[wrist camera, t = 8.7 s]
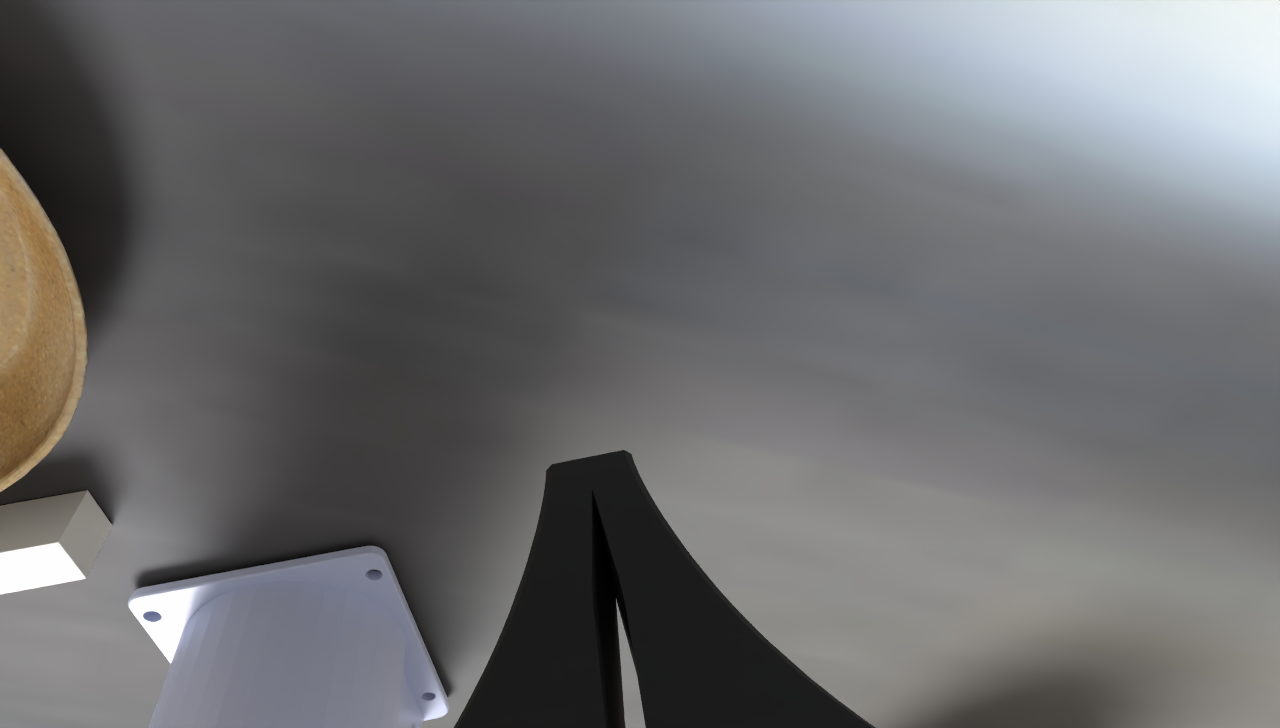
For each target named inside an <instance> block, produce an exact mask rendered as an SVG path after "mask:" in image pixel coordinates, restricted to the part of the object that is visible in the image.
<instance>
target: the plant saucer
mask: <svg viewBox="0 0 1280 728" xmlns="http://www.w3.org/2000/svg"><path fill="white" fill-rule="evenodd" d="M87 348H88V340H87V327H86V320H85V313H84V308H83V303H82V299H81V295H80V291H79V288H78V284H77V281H76V278H75V275H74V272H73V269H72V266H71V264H70V261H69V259H68V256H67V254H66V251H65V249H64V247H63V244H62V242H61V240H60V238H59V236H58V234H57V232H56V230H55V228H54V227H53V225H52V223H51V221H50V219H49V218H48V216H47V214H46V213H45V211H44V209H43V208H42V206H41V204H40V202H39V201H38V199H37V197H36V196H35V194H34V193H33V192H32V190H31V189H30V187H29V186H28V184H27V183H26V181H25V180H24V178H23V176H22V175H21V174H20V172H19V171H18V170H17V169H16V168H15V166H14V165H13V164H12V162H11V161H10V159H9V158H8V156H7V155H6V154H5V153H4V152H3V151H2V149H1V148H0V492H1V491H3V490H5V489H6V488H7V487H9V486H10V485H12V484H13V483H15V482H16V481H18V480H19V479H21V478H22V477H23V476H25V475H26V474H27V473H28V472H29V471H30V470H31V469H32V468H33V467H35V466H36V465H37V464H38V463H39V462H40V461H41V460H42V459H43V458H44V457H46V456H47V455H48V453H49V452H50V451H51V450H52V449H53V447H54V446H55V445H56V443H57V442H58V441H59V440H60V439H61V437H62V436H63V435H64V433H65V431H66V429H67V428H68V425H69V423H70V422H71V419H72V416H73V414H74V412H75V410H76V407H77V404H78V401H79V399H80V397H81V395H82V390H83V387H84V384H85V377H86V368H87V363H88V351H87Z"/></svg>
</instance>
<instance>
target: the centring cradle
mask: <svg viewBox="0 0 1280 728" xmlns="http://www.w3.org/2000/svg"><path fill="white" fill-rule="evenodd" d="M112 527H113V526H112V524H111V523H110V521H109V520H108V518H107V517H106V516H105V514H104V513H103V511H102V510H101V508H100V507H99V506H98V504H97V503H96V501H95V500H94V499H93V497H92V496H91V494H90V493H89V491H88V490H86V491H80V492H75V493H69V494H63V495H58V496H52V497H46V498H41V499H35V500H29V501H24V502H18V503H12V504H7V505H1V506H0V594H5V593H10V592H16V591H21V590H27V589H32V588H38V587H43V586H49V585H54V584H59V583H65V582H70V581H76V580H81V579H86V578H87V576H88V574H89V572H90V570H91V568H92V566H93V564H94V562H95V560H96V558H97V556H98V554H99V552H100V550H101V548H102V546H103V544H104V542H105V540H106V538H107V536H108V534H109V533H110V531H111V529H112Z"/></svg>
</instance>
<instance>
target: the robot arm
mask: <svg viewBox="0 0 1280 728" xmlns="http://www.w3.org/2000/svg"><path fill="white" fill-rule="evenodd" d="M372 569H376V570H378V571H372ZM616 599H617V603H618V607H619V610H620V614H621V618H622V621H623V625H624V629H625V632H626V636H627V640H628V643H629V647H630V651H631V654H632V658H633V662H634V665H635V669H636V673H637V676H638V682H639V688H640V694H641V701H642V707H643V713H644V719H645V725H646V728H875V727H874V726H872V725H871V724H870V723H868V722H867V721H865V720H864V719H862V718H861V717H860V716H858V715H857V714H856V713H854V712H853V711H852V710H850V709H849V708H848V707H846V706H845V705H844V704H842V703H841V702H840V701H838V700H837V699H836V698H834V697H833V696H832V695H831V694H829V693H828V692H827V691H826V690H824V689H823V688H822V687H821V686H819V685H818V684H817V683H816V682H814V681H813V680H812V679H811V678H809V677H808V676H807V675H806V674H805V673H804V672H803V671H802V670H800V669H799V668H798V667H797V666H796V665H795V664H794V663H793V662H791V661H790V660H789V659H788V658H787V657H786V656H785V655H784V654H782V653H781V652H780V651H779V650H778V649H777V648H776V647H775V646H773V645H772V644H771V643H770V642H769V641H768V640H767V639H766V638H765V637H764V636H763V635H762V634H761V633H760V632H759V631H758V630H757V629H756V628H755V627H754V626H753V625H752V624H751V623H750V622H749V621H748V620H747V619H746V618H745V617H744V616H743V615H742V614H741V613H740V612H739V611H738V610H737V609H736V608H735V607H734V606H733V605H732V604H731V603H730V601H729V600H728V599H727V598H726V597H725V596H724V595H723V594H722V593H721V591H720V590H719V589H718V588H717V587H716V586H715V585H714V583H713V582H712V581H711V580H710V579H709V577H708V576H707V575H706V574H705V573H704V571H703V570H702V569H701V568H700V566H699V565H698V564H697V563H696V561H695V560H694V559H693V558H692V556H691V555H690V554H689V552H688V551H687V550H686V548H685V547H684V546H683V544H682V543H681V541H680V540H679V539H678V537H677V536H676V534H675V533H674V531H673V530H672V528H671V527H670V526H669V524H668V523H667V521H666V520H665V518H664V517H663V515H662V514H661V512H660V511H659V509H658V507H657V506H656V504H655V502H654V501H653V499H652V497H651V496H650V494H649V492H648V490H647V489H646V487H645V485H644V483H643V481H642V479H641V477H640V475H639V473H638V471H637V468H636V466H635V463H634V461H633V458H632V454H630V453H628V452H627V451H625V450H622V451H617V452H612V453H606V454H601V455H596V456H591V457H586V458H581V459H576V460H571V461H566V462H561V463H556V464H552V465H551V466H550V467H549V468H548V469H547V471H546V483H545V490H544V496H543V502H542V507H541V512H540V516H539V520H538V525H537V529H536V533H535V536H534V540H533V543H532V547H531V550H530V554H529V557H528V561H527V564H526V567H525V571H524V574H523V577H522V579H521V582H520V585H519V588H518V590H517V593H516V596H515V599H514V602H513V604H512V607H511V610H510V613H509V615H508V618H507V620H506V623H505V625H504V628H503V630H502V632H501V635H500V637H499V639H498V642H497V644H496V646H495V648H494V651H493V653H492V655H491V657H490V659H489V661H488V664H487V666H486V668H485V670H484V672H483V674H482V676H481V678H480V680H479V682H478V684H477V686H476V687H475V689H474V691H473V693H472V695H471V697H470V699H469V701H468V703H467V705H466V707H465V709H464V710H463V712H462V714H461V716H460V718H459V720H458V721H457V723H456V725H455V727H454V728H625V720H624V705H623V691H622V677H621V663H620V649H619V635H618V622H617V608H616ZM128 606H129V609H130V610H131V611H132V613H133V614H134V615H135V617H136V618H137V619H138V621H139V622H140V623H141V625H142V626H143V627H144V629H145V630H146V631H147V633H148V634H149V635H150V637H151V638H152V639H153V641H154V642H155V643H156V645H157V646H158V647H159V649H160V650H161V651H162V653H163V654H164V655H165V657H166V658H167V659H168V661H169V662H170V663H171V665H170V668H169V671H168V674H167V677H166V679H165V682H164V685H163V688H162V691H161V693H160V696H159V699H158V702H157V705H156V707H155V710H154V713H153V716H152V719H151V721H150V724H149V727H148V728H422V727H423V721H425V720H430V719H435V718H439V717H442V716H444V715H445V714H447V712H448V711H449V700H448V698H447V696H446V693H445V691H444V688H443V686H442V684H441V681H440V679H439V677H438V674H437V672H436V670H435V667H434V665H433V663H432V660H431V658H430V656H429V653H428V651H427V649H426V646H425V644H424V641H423V639H422V637H421V634H420V632H419V630H418V627H417V625H416V623H415V620H414V618H413V616H412V613H411V611H410V609H409V606H408V604H407V601H406V599H405V597H404V594H403V592H402V590H401V587H400V585H399V583H398V580H397V578H396V576H395V573H394V571H393V569H392V566H391V564H390V561H389V559H388V557H387V554H386V553H385V551H384V550H383V549H381V548H379V547H376V546H364V547H358V548H353V549H347V550H342V551H337V552H331V553H326V554H320V555H315V556H310V557H304V558H299V559H293V560H288V561H283V562H277V563H272V564H266V565H261V566H256V567H250V568H245V569H239V570H234V571H229V572H223V573H218V574H213V575H207V576H202V577H196V578H191V579H186V580H180V581H175V582H169V583H164V584H159V585H153V586H148V587H142V588H139V589H136V590H135V591H134V592H133V593H132V594H131V597H130V599H129V602H128Z"/></svg>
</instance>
